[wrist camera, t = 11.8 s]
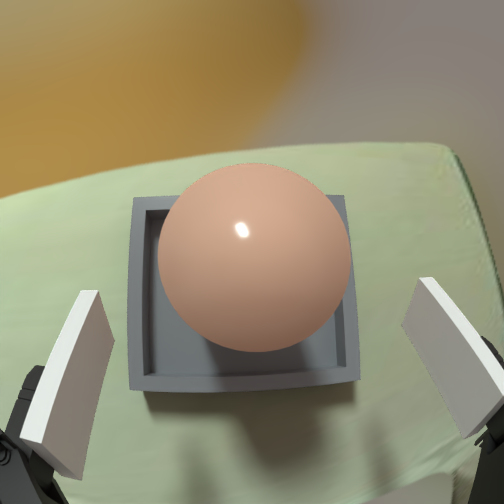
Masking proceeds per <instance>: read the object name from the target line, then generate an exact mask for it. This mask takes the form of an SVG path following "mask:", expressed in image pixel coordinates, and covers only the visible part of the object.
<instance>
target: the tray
mask: <svg viewBox="0 0 504 504" xmlns="http://www.w3.org/2000/svg"><path fill="white" fill-rule="evenodd" d="M326 197H327V198H328V199H329V200H330V201H331V203H332V204H333V205H334V207H335V209H336V210H337V212H338V213H339V215H340V217H341V219H342V221H343V223H344V226H345V229H346V232H347V235H348V239H349V244H350V236H349V228H348V221H347V214H346V207H345V200H344V195H326ZM178 198H179V196H155V197H135V198H133V208H132V219H131V231H130V246H129V265H128V297H127V336H128V368H129V386H130V390H137V391H156V392H244V391H263V390H278V389H290V388H301V387H310V386H319V385H327V384H335V383H342V382H349V381H356V380H361V379H360V350H359V331H358V316H357V303H356V291H355V280H354V270H353V261H352V252H351V244H350V253H351V266H350V275H349V280H348V284H347V287H346V290H345V293H344V296H343V298H342V300H341V302H340V304H339V306H338V307H337V309H336V310H335V312H334V313H333V315H332V316H331V317H330V318H329V319H328V321H327V322H326V323H325V324H324V325H323V326H322V327H321V328H319V329H318V330H317V331H316V332H315V333H313V334H312V335H311V336H309V337H307V338H306V339H304V340H302V341H301V342H298V343H296V344H294V345H292V346H289V347H286V348H282V349H279V350H274V351H267V352H246V351H239V350H234V349H230V348H227V347H223V346H221V345H219V344H216V343H214V342H212V341H210V340H208V339H206V338H205V337H203V336H201V335H200V334H198V333H197V332H196V331H195V330H193V329H192V328H191V327H190V326H189V325H188V324H187V323H186V322H185V321H184V320H183V319H182V318H181V317H180V316H179V315H178V313H177V312H176V310H175V309H174V307H173V306H172V305H171V303H170V301H169V299H168V297H167V295H166V293H165V290H164V287H163V285H162V282H161V278H160V273H159V268H158V245H159V239H160V234H161V230H162V227H163V224H164V221H165V219H166V217H167V215H168V213H169V211H170V209H171V207H172V206H173V205H174V203H175V202H176V200H177V199H178Z"/></svg>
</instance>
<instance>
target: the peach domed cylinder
mask: <svg viewBox="0 0 504 504" xmlns="http://www.w3.org/2000/svg"><path fill="white" fill-rule="evenodd" d="M350 266H351V253H350V244H349V239H348V235H347V232H346V229H345V226H344V223H343V221H342V219H341V217H340V215H339V213H338V212H337V210H336V209H335V207H334V205H333V204H332V203H331V201H330V200H329V199H328V198H327V197H326V195H325V194H324V193H323V192H322V191H321V190H319V189H318V188H317V187H316V186H315V185H314V184H312V183H311V182H310V181H308V180H307V179H305V178H303V177H302V176H300V175H298V174H296V173H294V172H292V171H289V170H287V169H284V168H281V167H277V166H273V165H267V164H258V163H246V164H237V165H232V166H227V167H224V168H221V169H218V170H215V171H213V172H211V173H209V174H207V175H205V176H203V177H202V178H200V179H199V180H197V181H196V182H194V183H193V184H192V185H191V186H189V187H188V188H187V189H186V190H185V191H184V192H183V193H182V194H181V195H180V196H179V198H178V199H177V200H176V202H175V203H174V205H173V206H172V207H171V209H170V211H169V213H168V215H167V217H166V219H165V221H164V224H163V227H162V230H161V234H160V239H159V245H158V268H159V273H160V278H161V282H162V285H163V287H164V290H165V293H166V295H167V297H168V299H169V301H170V303H171V305H172V306H173V307H174V309H175V310H176V312H177V313H178V315H179V316H180V317H181V318H182V319H183V320H184V321H185V322H186V323H187V324H188V325H189V326H190V327H191V328H192V329H193V330H195V331H196V332H197V333H198V334H200V335H201V336H203V337H205V338H206V339H208V340H210V341H212V342H214V343H216V344H219V345H221V346H223V347H227V348H230V349H234V350H239V351H246V352H267V351H274V350H279V349H282V348H286V347H289V346H292V345H294V344H296V343H298V342H301V341H302V340H304V339H306V338H307V337H309V336H311V335H312V334H313V333H315V332H316V331H317V330H318V329H319V328H321V327H322V326H323V325H324V324H325V323H326V322H327V321H328V319H329V318H330V317H331V316H332V315H333V313H334V312H335V310H336V309H337V307H338V306H339V304H340V302H341V300H342V298H343V296H344V293H345V290H346V287H347V284H348V280H349V275H350Z"/></svg>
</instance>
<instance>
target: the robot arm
mask: <svg viewBox="0 0 504 504" xmlns="http://www.w3.org/2000/svg"><path fill="white" fill-rule="evenodd" d="M402 327H403V329H404V330H405V332H406V334H407V335H408V337H409V339H410V340H411V342H412V344H413V346H414V347H415V349H416V351H417V352H418V354H419V356H420V358H421V359H422V361H423V363H424V365H425V366H426V368H427V370H428V372H429V374H430V375H431V377H432V379H433V381H434V383H435V384H436V386H437V388H438V390H439V392H440V394H441V396H442V398H443V399H444V401H445V403H446V405H447V407H448V409H449V411H450V413H451V415H452V417H453V419H454V421H455V423H456V425H457V427H458V429H459V431H460V433H461V435H462V437H463V439H466V438H468V437H470V436H472V435H474V434H476V433H478V432H479V431H480V430H481V429H482V428H483V427H484V426H485V424H486V426H487V428H488V429H487V430H486V431H485V432H484V433H483V434H482V435H481V436H480V437H479V438H478V439H477V440H476V441H475V444H474V445H475V446H476V445H478V444H479V443H480V442H481V441H482V440H483V442H482V443H481V444H480V446H479V447H481V448H482V449H481V454H480V458H479V463H478V467H477V472H476V476H475V480H474V483H473V487H472V491H471V494H470V498H469V501H468V504H504V362H503V358H502V357H501V356H500V354H498V351H497V350H496V349H495V347H494V346H493V344H492V343H491V342H489V341H488V340H487V339H486V338H484V337H483V336H481V337H480V336H479V334H478V333H477V332H476V330H475V329H474V328H473V327H472V325H471V324H470V323H469V321H468V320H467V319H466V317H465V316H464V315H463V314H462V312H461V311H460V310H459V309H458V307H457V306H456V305H455V304H454V302H453V301H452V300H451V299H450V297H449V296H448V295H447V294H446V293H445V291H444V290H443V289H442V288H441V287H440V285H439V284H438V283H437V282H436V281H435V280H434V278H433V277H425V278H419V280H418V283H417V285H416V288H415V291H414V294H413V297H412V300H411V302H410V305H409V308H408V310H407V313H406V315H405V318H404V321H403V323H402ZM114 341H115V340H114V337H113V335H112V332H111V329H110V326H109V323H108V320H107V317H106V314H105V311H104V308H103V304H102V301H101V298H100V295H99V291H98V290H81V292H80V294H79V296H78V297H77V299H76V301H75V303H74V305H73V307H72V309H71V311H70V313H69V315H68V317H67V320H66V322H65V324H64V326H63V328H62V330H61V332H60V334H59V337H58V339H57V341H56V343H55V345H54V348H53V350H52V352H51V354H50V357H49V359H48V361H47V364H46V366H39V365H36V366H35V367H34V368H33V369H32V370H31V371H30V372H29V373H28V374H27V376H26V378H25V380H24V383H23V385H22V390H20V393H19V395H18V400H16V403H15V405H14V408H13V411H12V413H11V416H10V419H9V421H8V424H7V427H6V430H5V433H4V432H3V431H2V430H1V429H0V504H69V503H68V501H67V500H66V498H65V496H64V494H63V493H62V491H61V489H60V487H59V485H58V484H57V482H56V480H55V479H54V478H53V473H54V470H55V471H57V472H58V473H59V474H60V475H61V476H64V477H68V478H72V479H77V480H82V476H83V471H84V465H85V460H86V454H87V449H88V444H89V439H90V435H91V430H92V425H93V421H94V417H95V412H96V408H97V404H98V400H99V396H100V392H101V388H102V384H103V380H104V376H105V373H106V369H107V366H108V362H109V358H110V355H111V351H112V348H113V345H114Z"/></svg>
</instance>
